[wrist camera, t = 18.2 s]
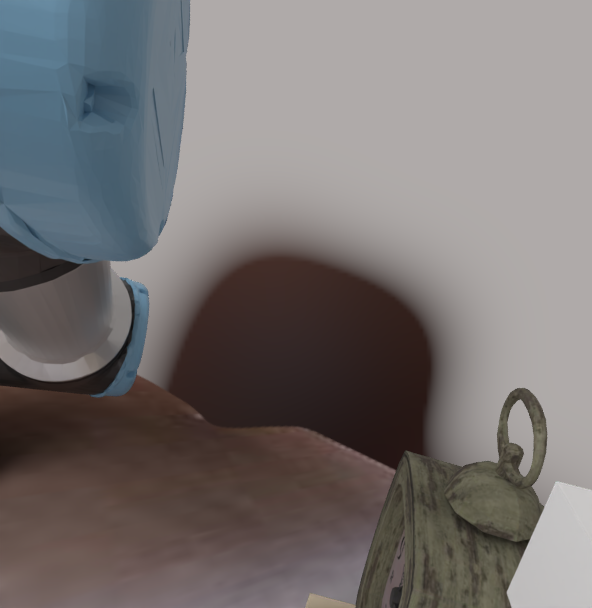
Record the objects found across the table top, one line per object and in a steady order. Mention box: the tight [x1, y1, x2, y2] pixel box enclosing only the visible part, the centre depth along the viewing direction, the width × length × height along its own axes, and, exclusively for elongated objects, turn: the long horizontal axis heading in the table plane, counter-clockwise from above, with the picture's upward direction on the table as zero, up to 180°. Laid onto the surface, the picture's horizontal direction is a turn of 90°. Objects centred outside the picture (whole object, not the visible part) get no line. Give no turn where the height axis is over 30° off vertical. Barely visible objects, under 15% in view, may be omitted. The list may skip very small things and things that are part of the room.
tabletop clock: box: [356, 388, 547, 608], centre depth 32 cm, size 14×9×25 cm, turn 171°
